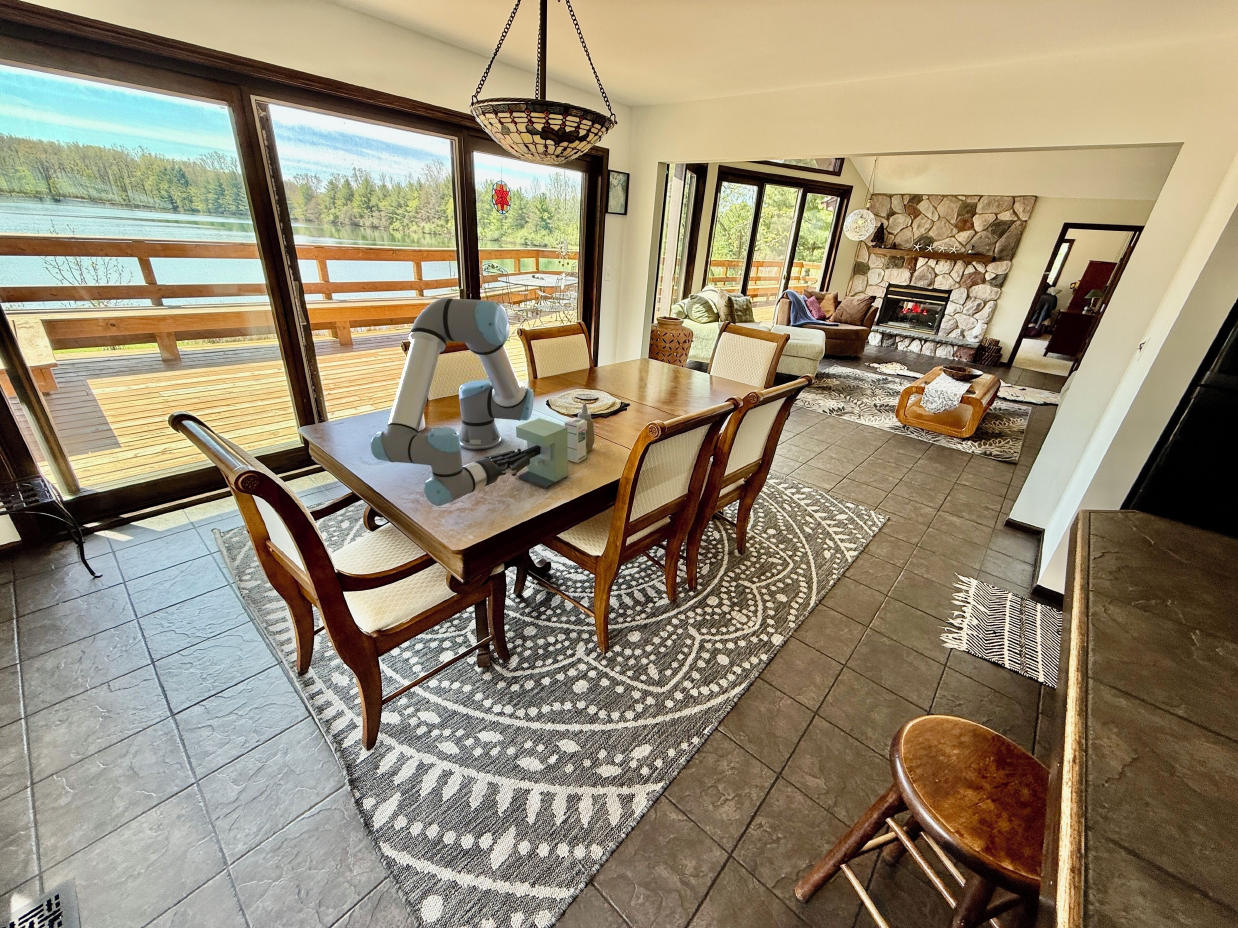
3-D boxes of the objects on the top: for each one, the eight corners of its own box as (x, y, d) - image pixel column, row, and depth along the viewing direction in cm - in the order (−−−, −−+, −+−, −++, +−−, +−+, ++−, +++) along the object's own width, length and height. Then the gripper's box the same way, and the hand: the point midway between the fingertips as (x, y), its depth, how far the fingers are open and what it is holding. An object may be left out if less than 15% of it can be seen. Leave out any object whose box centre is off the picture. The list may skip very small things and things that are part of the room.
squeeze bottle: (591, 455, 175) (592, 408, 167) (570, 452, 176) (570, 405, 169) (596, 446, 182) (598, 401, 175) (576, 444, 184) (576, 399, 176)
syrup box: (577, 463, 168) (578, 424, 162) (564, 459, 171) (564, 420, 165) (587, 458, 173) (587, 420, 166) (574, 453, 175) (574, 416, 169)
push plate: (549, 461, 150) (549, 443, 148) (528, 453, 155) (528, 436, 152) (551, 460, 151) (551, 443, 148) (530, 452, 155) (530, 435, 153)
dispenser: (545, 489, 150) (544, 436, 142) (518, 478, 156) (515, 426, 148) (567, 477, 158) (567, 426, 150) (540, 467, 164) (539, 418, 156)
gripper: (464, 479, 138) (524, 454, 156) (495, 493, 131) (554, 466, 149) (462, 455, 135) (523, 433, 153) (494, 468, 128) (554, 443, 146)
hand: (538, 449), depth 151 cm, fingers closed
